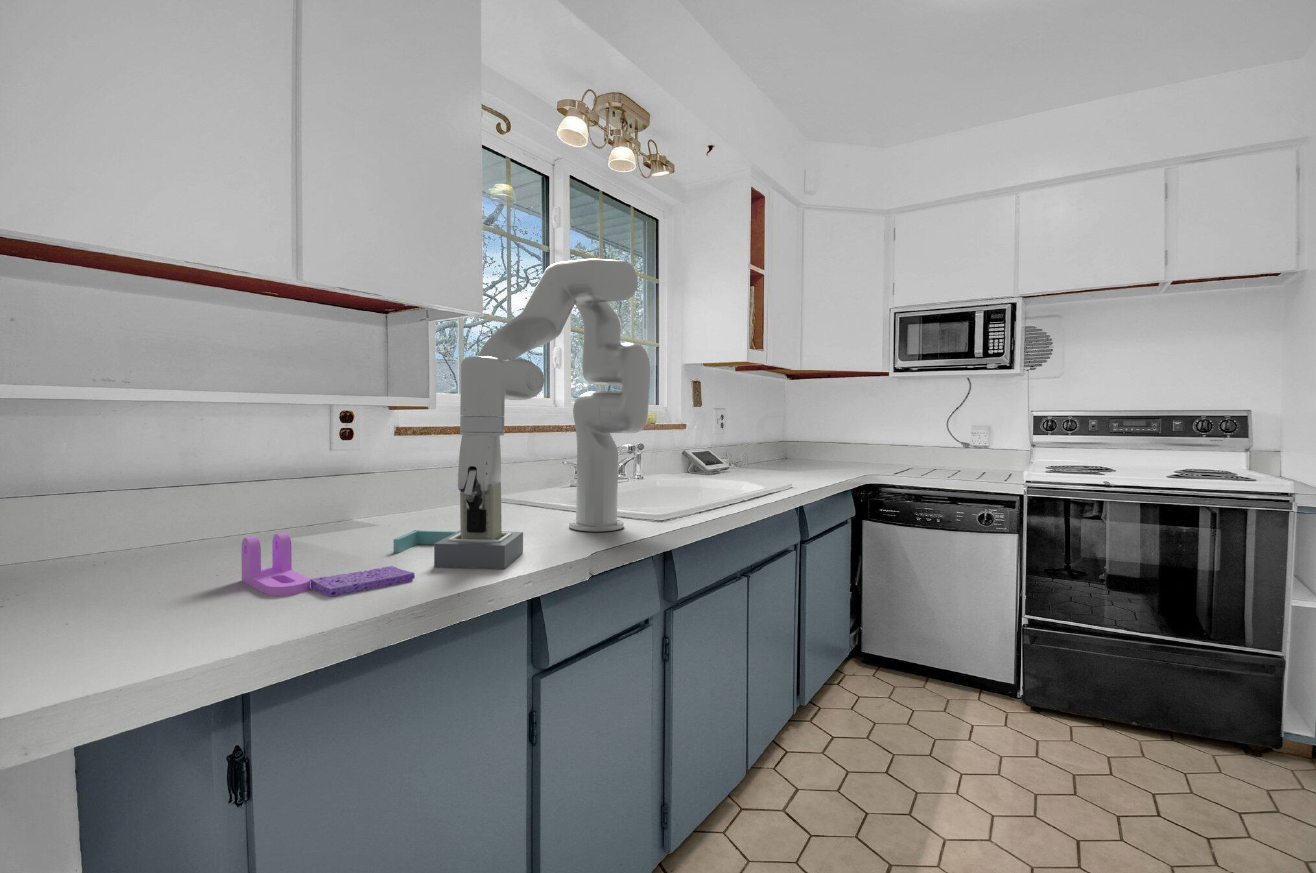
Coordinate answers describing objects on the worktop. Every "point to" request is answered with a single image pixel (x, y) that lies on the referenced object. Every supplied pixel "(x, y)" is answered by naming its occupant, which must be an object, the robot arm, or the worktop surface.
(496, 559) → the socket block
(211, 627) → the worktop surface
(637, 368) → the robot arm
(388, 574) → the sponges
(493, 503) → the skincare box
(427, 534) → the teal l-shaped piece
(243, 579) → the bracket
